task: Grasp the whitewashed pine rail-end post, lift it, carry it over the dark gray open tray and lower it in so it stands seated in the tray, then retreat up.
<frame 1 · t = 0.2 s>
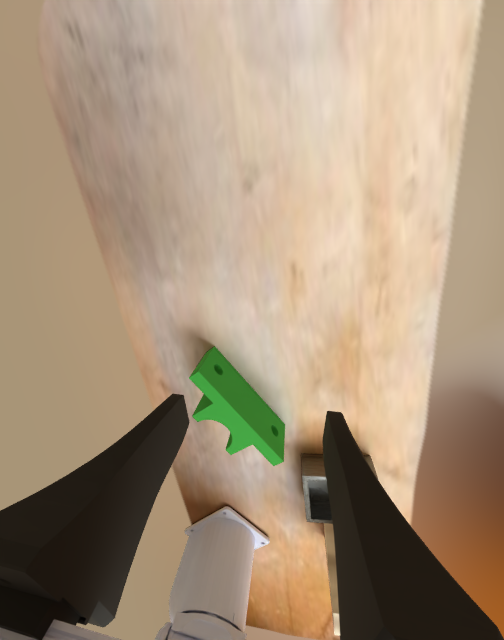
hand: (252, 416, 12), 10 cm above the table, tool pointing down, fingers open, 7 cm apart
dark gray open tray: (335, 478, 27), on the table
rail post: (340, 527, 30), on the table
pipe clamp: (238, 392, 25), on the table
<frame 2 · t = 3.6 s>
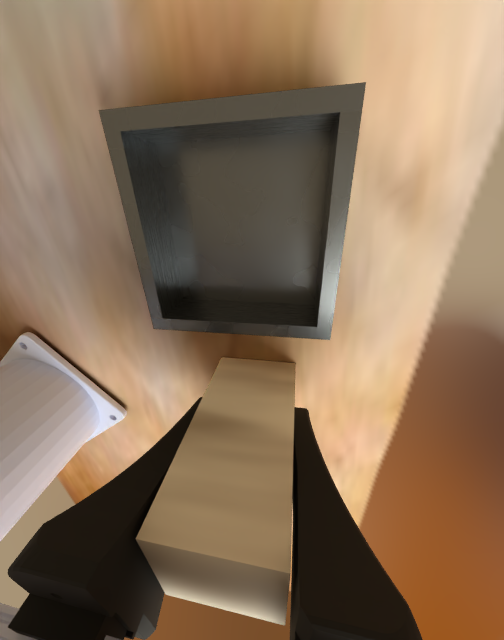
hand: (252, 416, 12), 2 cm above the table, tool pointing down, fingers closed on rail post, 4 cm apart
dark gray open tray: (245, 229, 10), on the table
rail post: (258, 388, 14), on the table, touching gripper
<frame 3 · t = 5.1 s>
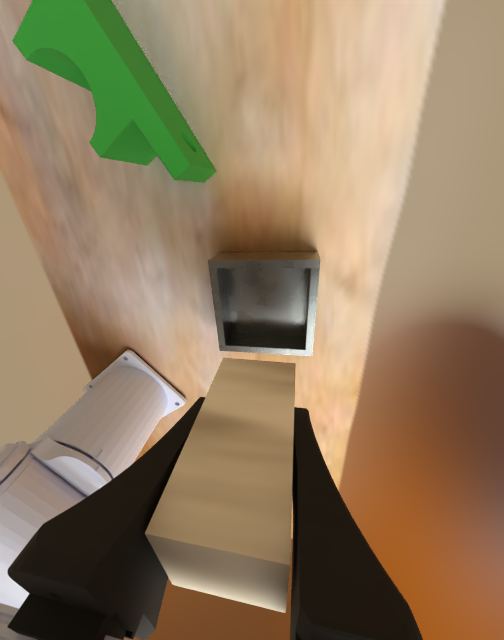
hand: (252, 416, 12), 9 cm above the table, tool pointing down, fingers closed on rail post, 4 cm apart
dark gray open tray: (267, 297, 19), on the table
rail post: (259, 387, 14), point 7 cm above the table, touching gripper
pipe clamp: (141, 100, 15), on the table
when the fingers open (4 cm above the table, at t = 7.1 s): rail post stays where it is, resting on dark gray open tray.
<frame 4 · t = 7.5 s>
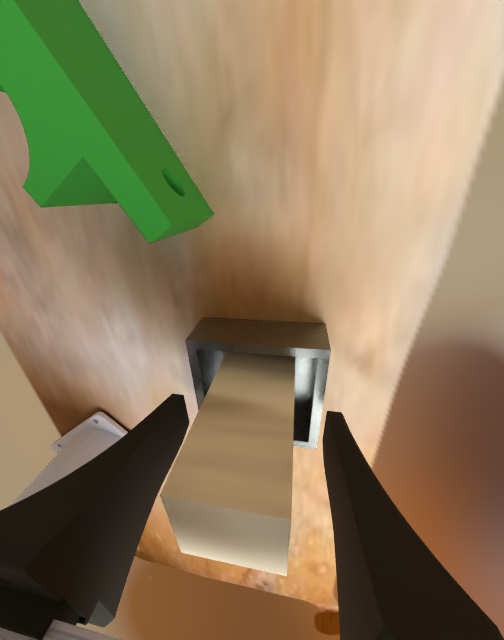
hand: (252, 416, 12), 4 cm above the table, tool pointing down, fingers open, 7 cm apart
dark gray open tray: (262, 369, 15), on the table
rail post: (261, 377, 15), resting on dark gray open tray
pipe clamp: (111, 118, 11), on the table
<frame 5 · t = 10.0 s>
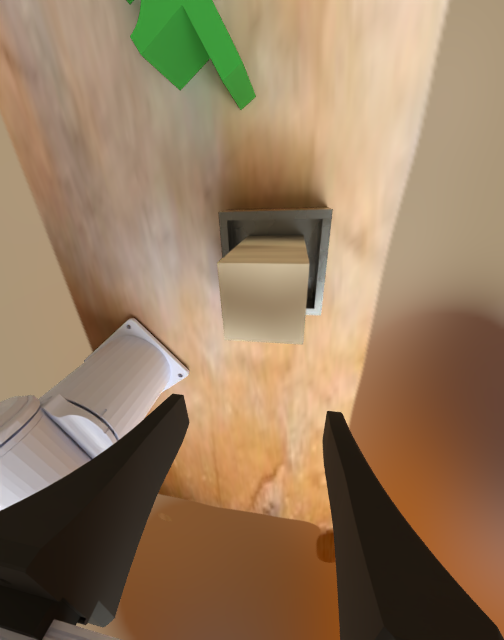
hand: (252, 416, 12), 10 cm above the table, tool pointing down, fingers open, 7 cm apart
dark gray open tray: (275, 258, 19), on the table
rail post: (275, 263, 18), resting on dark gray open tray
pipe clamp: (177, 14, 14), on the table
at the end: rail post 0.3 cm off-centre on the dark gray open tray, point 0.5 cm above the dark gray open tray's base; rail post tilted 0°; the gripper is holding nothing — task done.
